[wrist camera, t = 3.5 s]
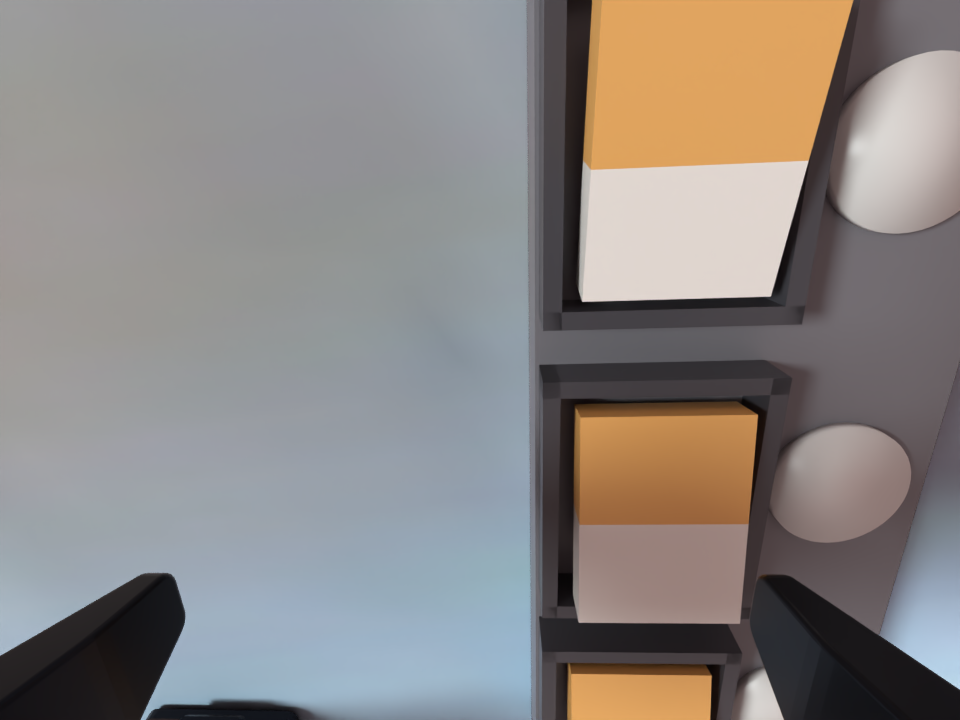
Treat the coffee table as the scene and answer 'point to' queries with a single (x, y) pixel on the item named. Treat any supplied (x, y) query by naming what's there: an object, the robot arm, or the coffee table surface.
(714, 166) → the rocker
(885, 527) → the power strip
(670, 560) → the rocker middle
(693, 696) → the block
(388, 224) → the coffee table surface
